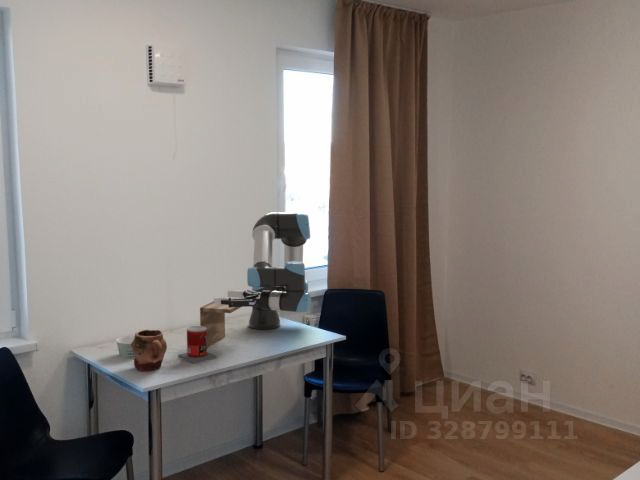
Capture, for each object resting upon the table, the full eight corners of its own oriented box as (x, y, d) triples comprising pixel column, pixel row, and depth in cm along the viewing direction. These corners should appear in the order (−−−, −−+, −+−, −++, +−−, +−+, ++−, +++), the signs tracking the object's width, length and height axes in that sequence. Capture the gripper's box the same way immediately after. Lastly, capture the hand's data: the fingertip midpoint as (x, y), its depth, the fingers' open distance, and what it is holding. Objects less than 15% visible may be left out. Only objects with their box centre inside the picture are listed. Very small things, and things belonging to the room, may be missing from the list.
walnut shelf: (200, 350, 267) (200, 307, 265) (221, 336, 289) (221, 297, 287) (230, 352, 264) (230, 309, 262) (250, 338, 285) (249, 299, 283)
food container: (122, 361, 252) (121, 344, 251) (112, 353, 262) (111, 338, 261) (151, 355, 259) (151, 340, 258) (140, 349, 269) (140, 334, 268)
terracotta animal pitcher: (179, 371, 240) (178, 334, 238) (149, 378, 231) (148, 340, 229) (150, 359, 254) (150, 325, 252) (122, 366, 245) (121, 330, 243)
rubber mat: (201, 351, 265) (201, 349, 264) (216, 357, 256) (216, 355, 256) (178, 357, 257) (178, 354, 257) (192, 363, 249) (192, 360, 249)
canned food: (203, 358, 252) (202, 331, 251) (184, 357, 254) (183, 329, 253) (210, 352, 260) (209, 326, 259) (191, 351, 261) (191, 325, 260)
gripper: (260, 317, 239) (208, 313, 244) (281, 302, 263) (233, 299, 268) (260, 298, 238) (207, 294, 243) (281, 284, 262) (233, 281, 267)
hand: (221, 297), depth 256 cm, fingers open, 13 cm apart
